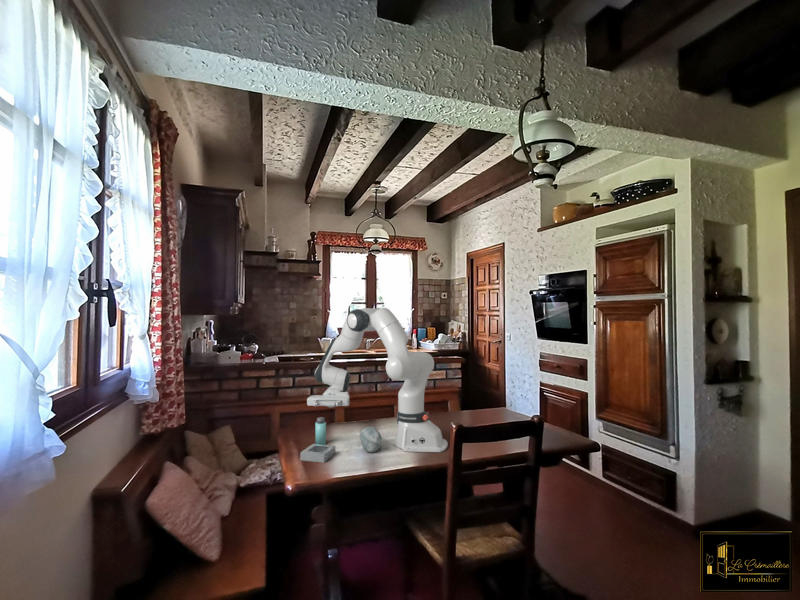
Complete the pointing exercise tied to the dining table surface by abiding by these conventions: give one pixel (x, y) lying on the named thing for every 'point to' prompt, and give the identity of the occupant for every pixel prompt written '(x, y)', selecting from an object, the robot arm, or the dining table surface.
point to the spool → (371, 439)
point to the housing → (317, 453)
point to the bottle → (320, 431)
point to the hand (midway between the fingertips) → (325, 404)
